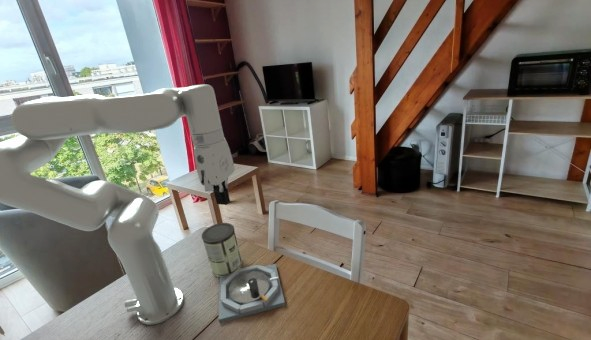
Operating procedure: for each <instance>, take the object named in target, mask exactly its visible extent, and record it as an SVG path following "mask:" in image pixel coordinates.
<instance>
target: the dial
mask: <svg viewBox="0 0 591 340" xmlns="http://www.w3.org/2000/svg"><path fill="white" fill-rule="evenodd" d="M269 289H270V282H269V278H268V277H267V276H266V275H265V274H264V273H262V272H257V271H251V272H246V273H244V274H241V275H239V276H238V277H236V278H235V279H234V280H233V281H232V283H231V284H230V287H229V295H230V298H231V300H232V301H233V302H235V303H237V304H240V305H244V304H248V303H252V302H255V301H259V300H261V299H262V298H261V297H260V296H261V295H264V296H265V295H266V294H267V293H268V291H269Z"/></svg>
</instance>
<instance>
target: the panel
mask: <svg viewBox="0 0 591 340" xmlns="http://www.w3.org/2000/svg"><path fill="white" fill-rule="evenodd" d="M251 271H257V272H262V273H264V274H265V275H266V276H267V277H268V278H269V282H270V289H269V291H268V293H267V294H266V295H265V296H264V295H261V296H260V297H261V298H262V299H261V300H259V301H255V302H252V303H248V304H244V305H240V304H237V303H235V302H233V301H232V300H231V298H230V295H229V287H230V284H231V283H232V281H233V280H234V279H235V278H236V277H238V276H239V275H241V274H244V273H246V272H251ZM218 294H219V295H218V323H220V324H221V323H224V322H228V321H232V320H235V319H238V318H239V319H240V318H242V317H247V316H251V315H255V314H258V313H263V312H265V311H270V310H273V309H277V308H281V307H285V306H286V301H285V298H284V294H283V289H282V286H281V281H280V277H279V273H278V269H277V264H276V263H273V264H268V265H264V266H263V265H260V264H258V265H257V264H254V265H250V266H246V267H243V268H242V267H241V268H240V269H238V271H237V270H236V271H235V272H233V273H232V274H230V275H226V276H222V277H219V293H218Z"/></svg>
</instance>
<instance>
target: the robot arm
mask: <svg viewBox="0 0 591 340" xmlns="http://www.w3.org/2000/svg"><path fill="white" fill-rule="evenodd" d="M217 103H218V102H217V99H216V93H215V89H214V87H213V86H212V85H210V84H205V83H203V84H194V85H190V86H189V85H188V86H185V87H164V88H159V89H157V90H155V91H153V92H151V93H143V94H136V95H135V94H134V95H125V96H111V97H109V96H108V97H107V96H103V95H100V94H95V93H89V94H82V95H75V96H73V95H72V96H64V97H61V96H46V97H40V98H38V99H37V98H36V99H32V100H29V101H25V102H22V103H20V104H19V105H17V106H16V107H15V108H14V109H13V111H12V114H11V117H10V119H11V121H10V123H11V125H12V128H13V129H14V130H15V131H16V132H17V133H18V135H16V136H13V137H10V138H8V139H5V140H2V141H0V204H2V205H4V206H8V207H11V208H15V209H19V210H22V211H26V212H29V213H33V214H35V215H38V216H41V217H42V218H46V219H48V220H52V221H54V222H57V223H59V224H62V225H66V226H68V227H71V228H74V229H76V230H80V231H84V232H93V231H95V230H98V229H100V228H101V227H102V226H103V225H104V224H105V223H106V222H107V220H108V219H109V218H110V217H112V218H114V219H113V220H112V222H111V224H110V226H109V228H108V231H107V241H108V244H109V246H110V247H111V249H112V251H114V253H115V254H116V255H117V257H118V260H119V261H120V263H121V265H122V267H123V270H124V271H125V274H126V277H127V278H128V281H129V283H130V286H131V288H132V290H133V293H134V294H135V296H136V297H135V298H133V299H127V300H125V301H124V307H125V308H126V312H127V313H131V312H135V311H136V316H137V318H138V321H139V322H140V323H142V324H143V325H151V326H152V325H156V324H157V325H158V324H160V323H163V322H165V321H167V320H168V319H170V318H172V317H173V316H175V314H176V313H177V312H178V311H180V309H181V308H182V306H183V304H184V300H185V299H184V294H183V291H181V289H179V288H177V287H175V286H174V283H173V281H172V277H171V275H170V272H169V270H168V266H167V263H166V260H165V257H164V255H163V253H162V249H161V247H160V246H159V243H157V241H156V240H155V239H154V235H153V232H154V229H155V226H156V224H157V221H158V217H159V215H160V214H159V213H160V212H159V211H160V210H159V207H158V205H157V204H156V202H155V201H154V200H153V199H151V198H150V197H147V196H146V195H143V194H141V193H138V192H136V191H133V190H132V189H129V188H126V187H124V186H122V185H120V184H117V183H115V182H113V181H108V180H99V179H98V180H94V181H91V182H88V183H87V184H84V185H83V186H82V187H81V188H78V187H75V186H71V185H69V184H66V183H64V182H62V181H59V180H57V179H53V178H47V177H40V176H35V175H32V173H34V172H36V171H38V170H39V169H41V168H42V167H45V166H46V165H47V164H49V163H50V162H51V161H52V160H53V159H54V158H55V156H57V153H59V152H60V150H61V149H62V147H63V146H64V145H65V143H67V142H66V141H68V139H69V138H73V137H81V136H88V135H89V136H90V135H97V134H131V133H134V134H135V133H143V132H150V131H155V130H156V131H157V130H163V129H166V128H170V127H172V126H173V125H174V124H175V123H176V122H177V121H178V120H179V119H181V118H183V117H186V121H187V125H188V129H189V132H190V136H191V140H192V143H193V154H194V155H193V156H194V162H195V168H196V172H197V176H198V179H199V182H200V184H201V185H202V186H204V191H205V192H212V193H213V194H214V197H215V202H216V204H217V205H221V206H222V205H223V206H224V205H225V206H227V205H228V204H229V203H230V202H231V198H230V193H229V190H228V187H229V182H228V179H229V178H230V176H232V175H233V174H234V172H235V170H236V169H235V164H234V159H233V155H232V152H231V148H230V146H229V144H228V141H227V140H226V139H227V138H225V134H224V131H223V126H222V120H221V116H220V112H219V107H218V104H217Z"/></svg>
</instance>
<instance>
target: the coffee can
mask: <svg viewBox="0 0 591 340" xmlns="http://www.w3.org/2000/svg"><path fill="white" fill-rule="evenodd" d="M201 240H202V242H203V245H204V249H205V251H206V255H207V259H208V263H209V266H210V269H211V273H212V275H213V276H215V277H217V278H220V277H222V276H226V275H230V274H232V273H233V272H235V271H236V270H237V271H238V269H241V268H242V266H243V260H242V258H241V254H240V250H239V249H240V248H239V245H238V241H237V236H236V233H235V226H234V225H233V224H231V223H228V222H220V223H216V224H212V225H211V226H209V227H207V228H206V229H204V230H203V232H202V234H201Z"/></svg>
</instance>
